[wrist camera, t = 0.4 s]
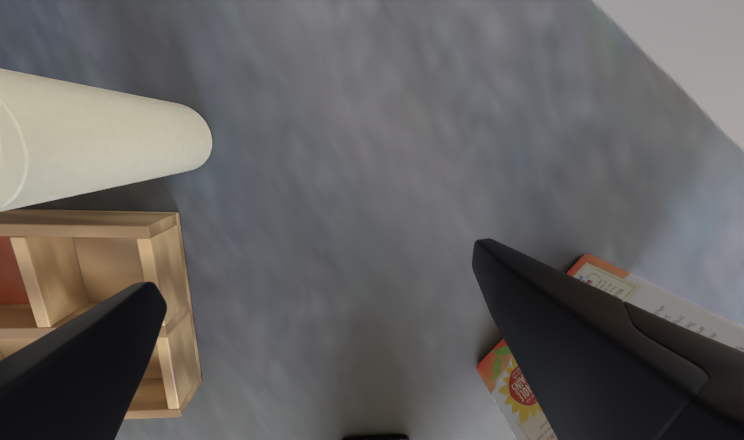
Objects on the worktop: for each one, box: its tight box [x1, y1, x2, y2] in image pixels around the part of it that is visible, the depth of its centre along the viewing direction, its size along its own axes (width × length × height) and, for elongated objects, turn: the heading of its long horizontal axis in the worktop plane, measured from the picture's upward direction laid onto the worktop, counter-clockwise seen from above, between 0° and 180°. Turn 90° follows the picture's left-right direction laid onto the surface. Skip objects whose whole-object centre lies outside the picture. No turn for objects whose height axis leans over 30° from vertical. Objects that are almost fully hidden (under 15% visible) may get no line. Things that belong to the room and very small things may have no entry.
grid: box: [0, 209, 202, 419], centre depth 21 cm, size 15×15×3 cm
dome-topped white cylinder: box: [0, 68, 212, 212], centre depth 13 cm, size 4×4×14 cm
